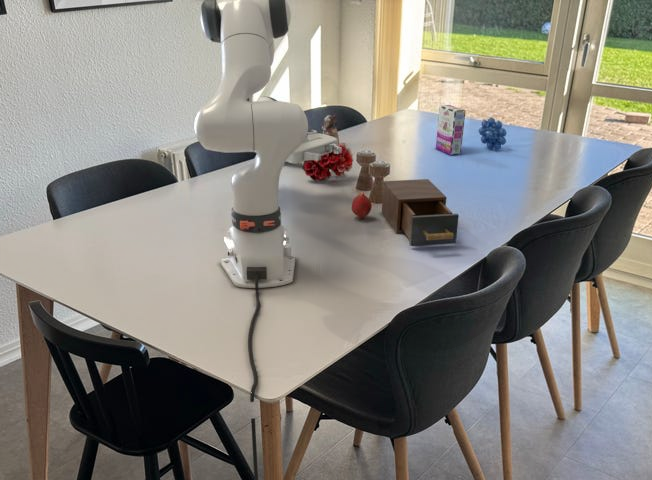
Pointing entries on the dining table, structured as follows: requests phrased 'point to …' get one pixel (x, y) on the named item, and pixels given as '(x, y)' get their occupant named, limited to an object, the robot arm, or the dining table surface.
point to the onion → (361, 205)
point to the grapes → (492, 133)
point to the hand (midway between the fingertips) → (330, 154)
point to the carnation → (329, 164)
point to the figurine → (330, 127)
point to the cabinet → (406, 197)
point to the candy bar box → (450, 129)
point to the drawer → (428, 223)
